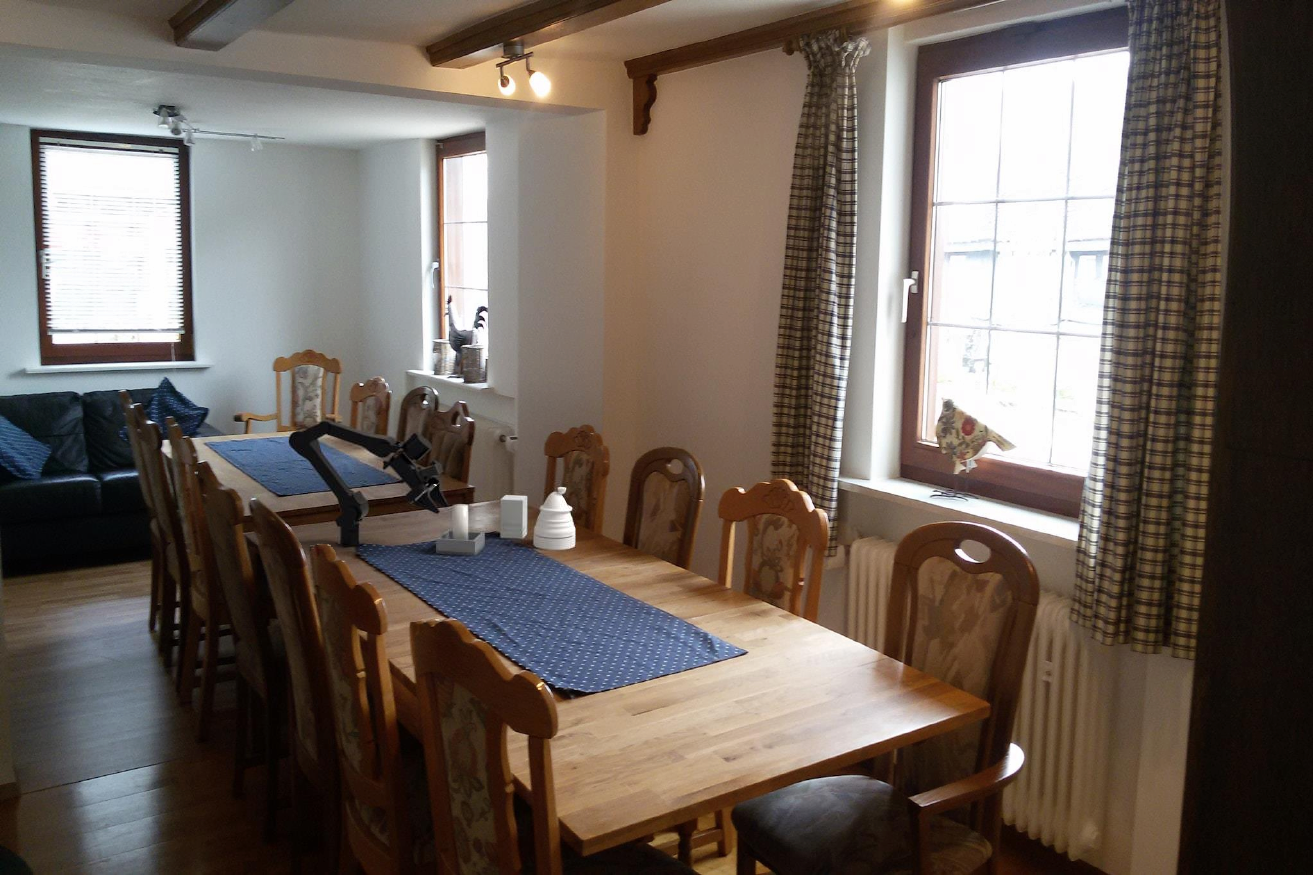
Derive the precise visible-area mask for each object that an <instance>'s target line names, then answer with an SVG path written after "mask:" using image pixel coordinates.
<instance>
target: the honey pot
mask: <svg viewBox="0 0 1313 875" xmlns="http://www.w3.org/2000/svg"><path fill="white" fill-rule="evenodd" d="M566 491H567V487H563V486H560V487H557V491H553V492H551V493H550V494H549V495H548V496H547V497H546V499H545V501H544V503H543V504H542V505H541V506H539V510H540V512H539V515H538V516H537V520H536V522H535V525H534V527H533V546H534V547H536V548H538V549H541V550H542V549H543V550H548V551H549V550H550V551H553V550H554V551H560V550H569V549H572V548H574V547H575V546H576V527H575V524H574V520H573V517H572V515H571V512H572V511H573V507H572V506H570V505H569V504H567V502H566V500H565V498H564V497H563V496H564V494H565V493H566Z"/></svg>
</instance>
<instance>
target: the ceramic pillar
mask: <svg viewBox="0 0 1313 875" xmlns="http://www.w3.org/2000/svg"><path fill="white" fill-rule="evenodd" d="M451 510H452V511H451V512H452V514H451V515H452V516H451V518H452V530H453V539H459V540H468V531H469V505H468V504H463V503H461V504H460V503H458V504H453V505H452V508H451Z"/></svg>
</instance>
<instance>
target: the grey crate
mask: <svg viewBox="0 0 1313 875" xmlns="http://www.w3.org/2000/svg"><path fill="white" fill-rule="evenodd" d="M485 532H486V531H485ZM485 532H484V531H470V530H468V540H459V539H453V529H452V530H450V529H449V530H448V529H447V530H446V531H444V532H443V533H442V534H440V535H439V536H438V537H437V538H435V554H436V555H447V556H448V555H450V556H451V555H453V556H469V557H476V556H477V555H478V554H479V553H480V552H481V551H482V550H483V549H484V548H485V538H486V536H485V535H486V534H485Z"/></svg>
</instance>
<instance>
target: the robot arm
mask: <svg viewBox="0 0 1313 875" xmlns="http://www.w3.org/2000/svg"><path fill="white" fill-rule="evenodd" d="M326 435H327V436H330V437H333V438H336V439H337V440H338V439H339V440H342V441H344V442H348V443H350V444H353V445H356V446H359V447H362V448H364V449H365V450H366V451H367V452H369V453H370V454H372V455H374V456H376V457H377V458H381V459H384V460H382V463H383V466H382V470H383V471H385V470H387V469H389V468H391V469H392V470H393V471H394V473H395V474H396V475H397V476H398V477H399V478H400V483H402V484H405V485H406V486H407V487H408V488H409V489H410V490H409V491H407V493H406V494H405V500H406V501H407V503H408V504H412V505H413V506H417V507H419V508H422V509H425V510H427V511H428V512H432V513H434V514H436V515H438V514H439V513H440V509H439V508H438V506H437V505H436V503H437V504H439V505H440V506H442V507H444V508H445V509H447V508H448V507H449V504H448V501H447V499H446V498H445V495H444V493H443V491H442V484H443V482H442V478H441V477H440V476H439V475H441V474H442V473H444V470H443V464H441V463H440V462H441V461H440V462H438V461H437V460H433V461H430V462H429V466H427V467H424V468H423V467H422V466H421V465H420V466H419V465H418V466H417V465H416V464H415V463H414V462H413V461H418V462H419V461H420V460H421V459H422V458H423V457H424V456H425V455H426V454H428V453H429V451H431V450H432V448H433V446H432V443H431V442H430V441H429V440H428V439H427V438H425V437H424V436H423V435H421V434H419V433H418V432H417V431H415V432H413V433H412V434H411V435H410V437H409V438H408V439H407V440H406V441H400V440H396V438H394V437H393V436H389V435H385V434H375V433H374V434H373V433H367V432H365V431H362V430H360V429H356V428H352V427H350V426H347V425H344V424H342V423H341V424H340V423H338V422H335V421H333V420H331V419H326V420H321V421H319V423H317V424H316V425H313V426H311V427H309V428H302V429H299V430H295V431H293V432H291V434H290V435H289V438H288V445H289V447H291V449H292V450H293V451H294V452H295V453H297V454H298V455H299V456H300V457H303V458H304V459H305V460H307V461H308V462H309V464H311V466H312V467H313V469H314V470H315V471H316V472H317V475H318V476H320V478H321V479H322V481H323V482H324V483H325V484H326V486H327V487H328V489H330V491H331V492H332V494H333V495H334V496H335V497H336V499H337V504H338V507H339V509H340V511H341V514H340V515H339V516H338V517H337V518H335V520H334V521H335V522H334V523H335V525H336V527H338V528H339V540H336V541H335V544H337V545H339V546H340V547H343V548H346V547H355V546H364V545H365V544H364V542H362V541H361V540H360V538H361V537H360V536H361V535H360V533H361V530H360V526H361V525H360V522H363V519H364V518H365V516H367V515H368V513H369V508H370V506H369V503H368V501H369V500H368V499H367V498H366V497H364V495H363V493H362V491H361V490H358V491H354V490H352V489H351V488H350V487H349V486H348V484H347V483H346V482H345V481H344V479H343V478H342V477H341V476H340V474H339V472H338V471H337V470H336V468H334V466H333V465H332V463H331V462H330V461H329V460H328V458H327V457H326V456H325V454H324V453H323V452H322V448H321V445H320V442H319V439H320V438H322V437H324V436H326ZM400 451H401V452H400ZM398 452H400V453H399V454H397V453H398ZM391 455H392V456H391ZM389 456H391V457H390V458H389V459H385V458H387V457H389Z"/></svg>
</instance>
